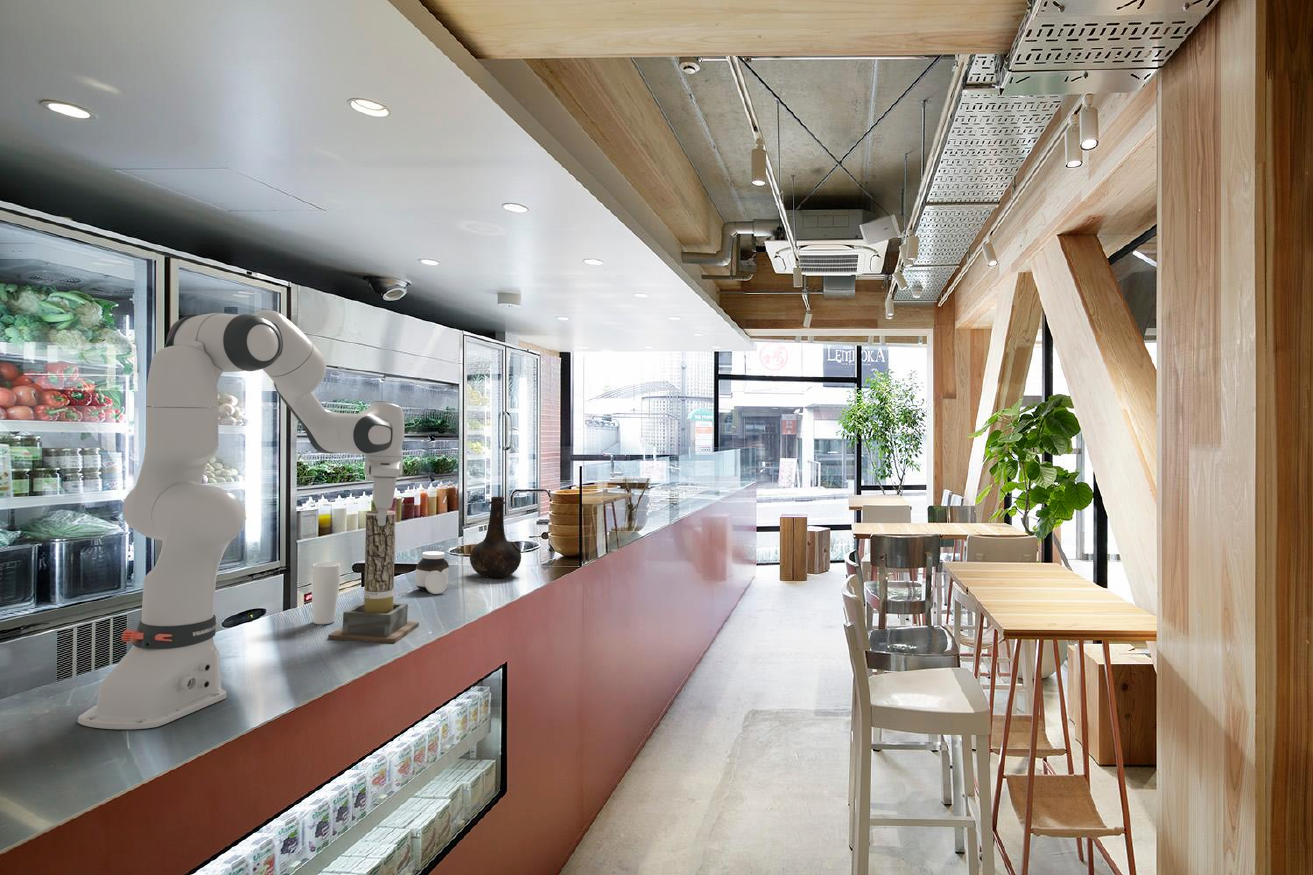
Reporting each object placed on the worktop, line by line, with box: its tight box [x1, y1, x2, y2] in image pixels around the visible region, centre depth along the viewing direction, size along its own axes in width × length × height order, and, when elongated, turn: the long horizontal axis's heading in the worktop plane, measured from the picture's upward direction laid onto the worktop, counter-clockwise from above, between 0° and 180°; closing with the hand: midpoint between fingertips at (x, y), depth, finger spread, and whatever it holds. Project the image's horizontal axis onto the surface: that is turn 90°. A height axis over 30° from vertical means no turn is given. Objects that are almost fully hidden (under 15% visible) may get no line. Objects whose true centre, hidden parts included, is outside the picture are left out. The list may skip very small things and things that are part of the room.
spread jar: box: [414, 550, 450, 595], centre depth 229 cm, size 12×11×12 cm
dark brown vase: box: [469, 496, 522, 579], centre depth 258 cm, size 18×18×28 cm
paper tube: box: [363, 509, 396, 613], centre depth 180 cm, size 7×7×25 cm
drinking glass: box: [310, 561, 342, 626], centre depth 187 cm, size 7×7×15 cm
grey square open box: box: [327, 601, 420, 644], centre depth 180 cm, size 16×16×6 cm
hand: (380, 523), depth 180 cm, fingers closed on paper tube, 7 cm apart
